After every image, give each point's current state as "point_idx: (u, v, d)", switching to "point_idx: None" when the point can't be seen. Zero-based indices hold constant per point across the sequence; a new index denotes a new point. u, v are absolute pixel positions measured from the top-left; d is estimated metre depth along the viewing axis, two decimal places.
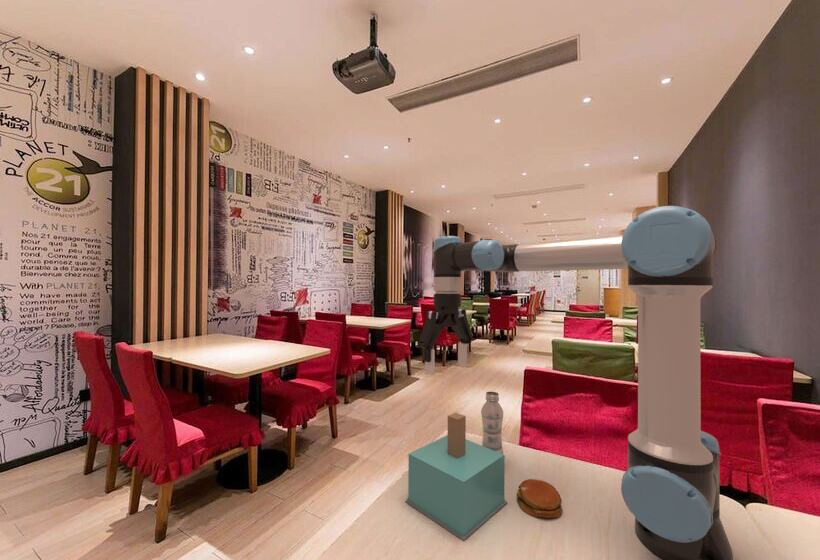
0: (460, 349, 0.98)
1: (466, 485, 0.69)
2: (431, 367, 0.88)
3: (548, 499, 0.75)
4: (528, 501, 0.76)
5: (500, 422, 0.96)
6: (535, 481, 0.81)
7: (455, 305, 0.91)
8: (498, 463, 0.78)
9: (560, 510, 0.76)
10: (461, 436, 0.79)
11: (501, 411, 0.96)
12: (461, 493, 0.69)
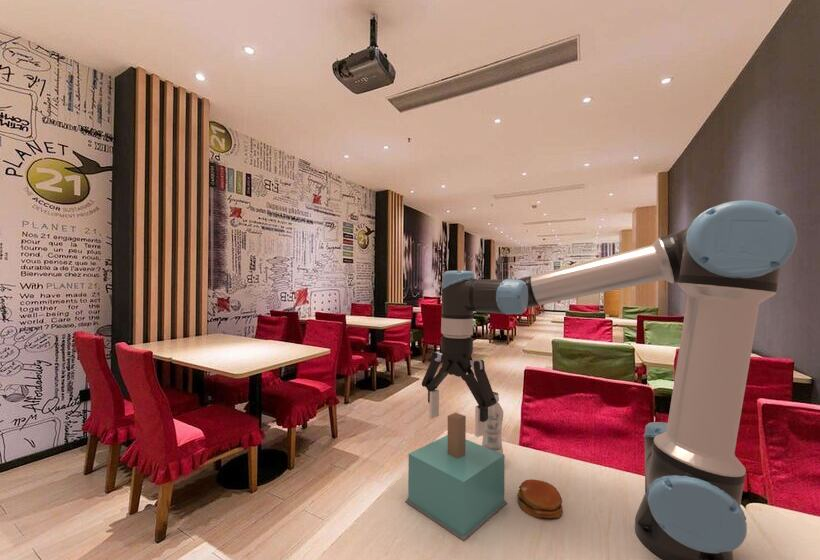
0: None
1: (466, 485, 0.69)
2: None
3: (549, 499, 0.75)
4: (528, 501, 0.76)
5: (500, 422, 0.96)
6: (535, 481, 0.81)
7: (444, 351, 0.79)
8: (498, 463, 0.78)
9: (561, 510, 0.76)
10: (461, 436, 0.79)
11: (501, 411, 0.96)
12: (461, 493, 0.69)
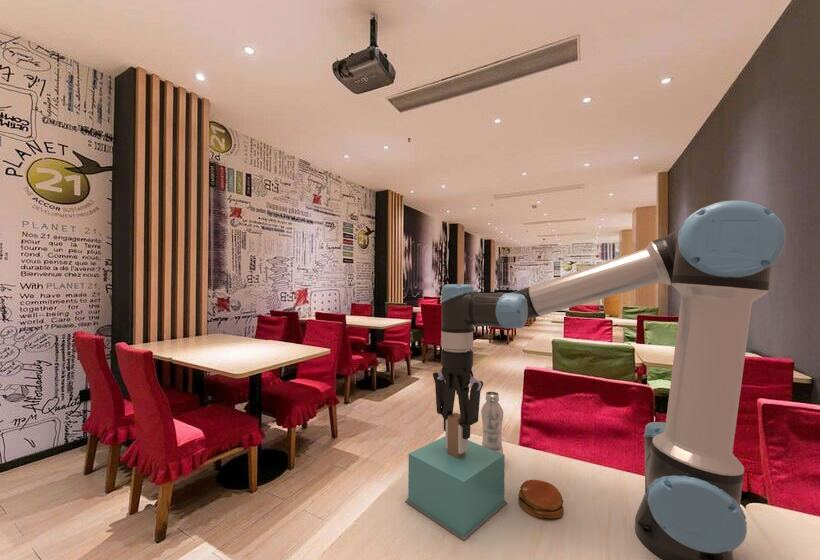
0: None
1: (466, 485, 0.69)
2: None
3: (550, 500, 0.75)
4: (529, 502, 0.76)
5: (500, 422, 0.96)
6: (536, 481, 0.81)
7: (444, 364, 0.78)
8: (498, 463, 0.78)
9: (562, 511, 0.76)
10: None
11: (501, 411, 0.96)
12: (461, 493, 0.69)
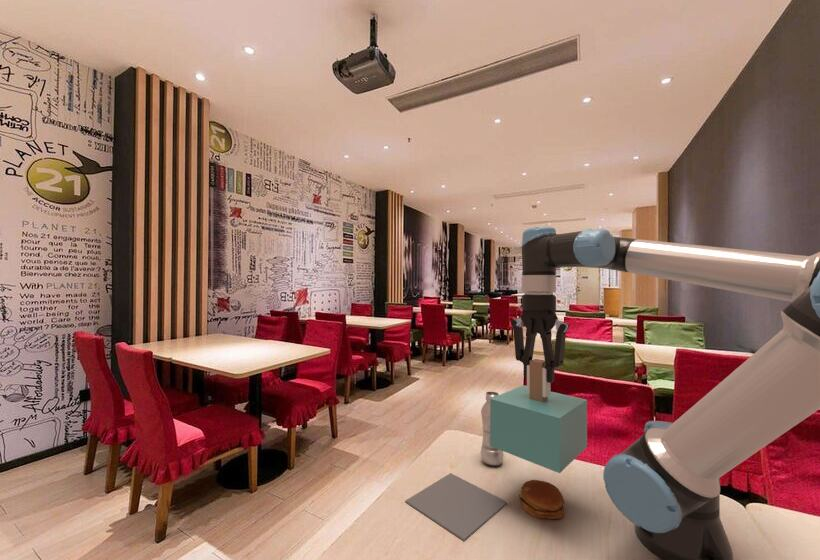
0: None
1: (561, 421, 0.69)
2: None
3: (551, 500, 0.75)
4: (530, 502, 0.76)
5: None
6: (538, 482, 0.81)
7: (528, 308, 0.78)
8: (583, 407, 0.78)
9: (563, 511, 0.75)
10: None
11: None
12: (557, 429, 0.68)
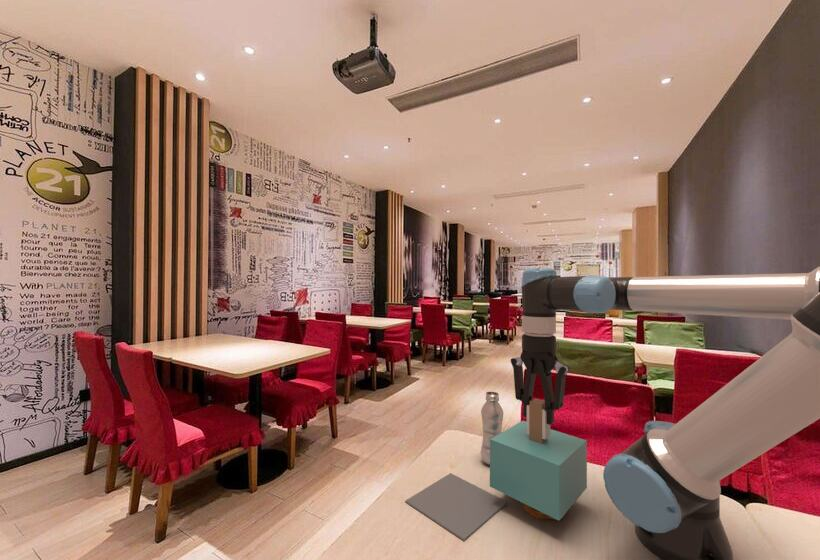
0: None
1: (561, 468, 0.69)
2: None
3: None
4: None
5: (500, 422, 0.96)
6: None
7: (528, 349, 0.78)
8: (582, 448, 0.77)
9: None
10: None
11: (501, 411, 0.96)
12: (557, 476, 0.68)
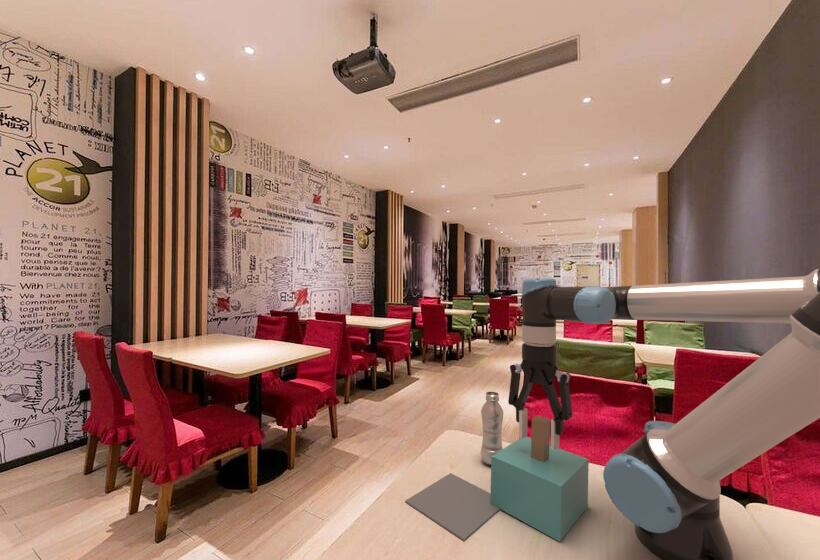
0: None
1: (563, 489, 0.69)
2: None
3: None
4: None
5: (500, 422, 0.96)
6: None
7: (528, 359, 0.78)
8: (584, 467, 0.77)
9: None
10: (546, 439, 0.78)
11: (501, 411, 0.96)
12: (558, 497, 0.68)
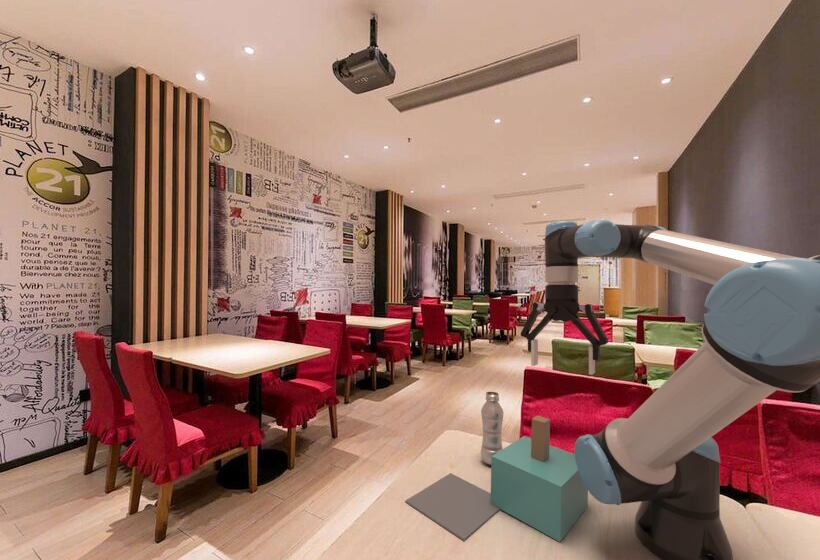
0: None
1: (563, 489, 0.69)
2: None
3: None
4: None
5: (500, 422, 0.96)
6: None
7: (553, 297, 0.83)
8: None
9: None
10: (546, 439, 0.78)
11: (501, 411, 0.96)
12: (558, 497, 0.68)
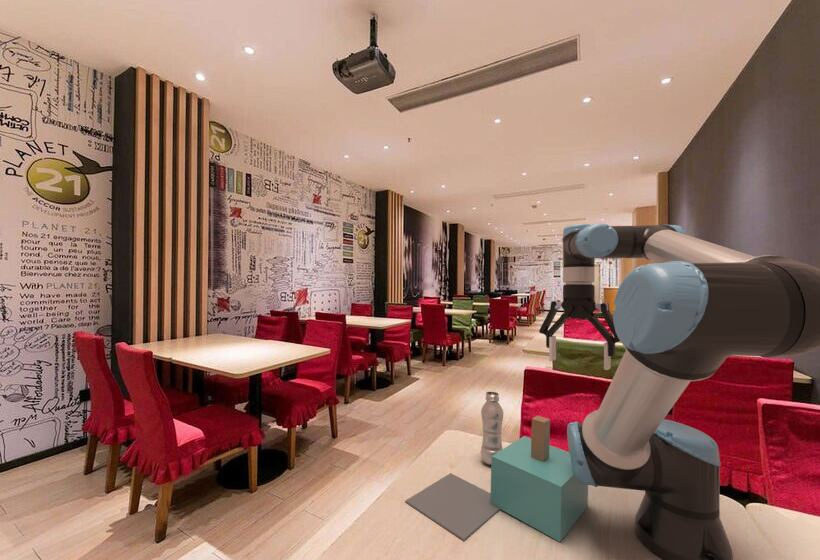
0: None
1: (563, 489, 0.69)
2: None
3: None
4: None
5: (500, 422, 0.96)
6: None
7: (570, 296, 0.88)
8: None
9: None
10: (546, 439, 0.78)
11: (501, 411, 0.96)
12: (558, 497, 0.68)
